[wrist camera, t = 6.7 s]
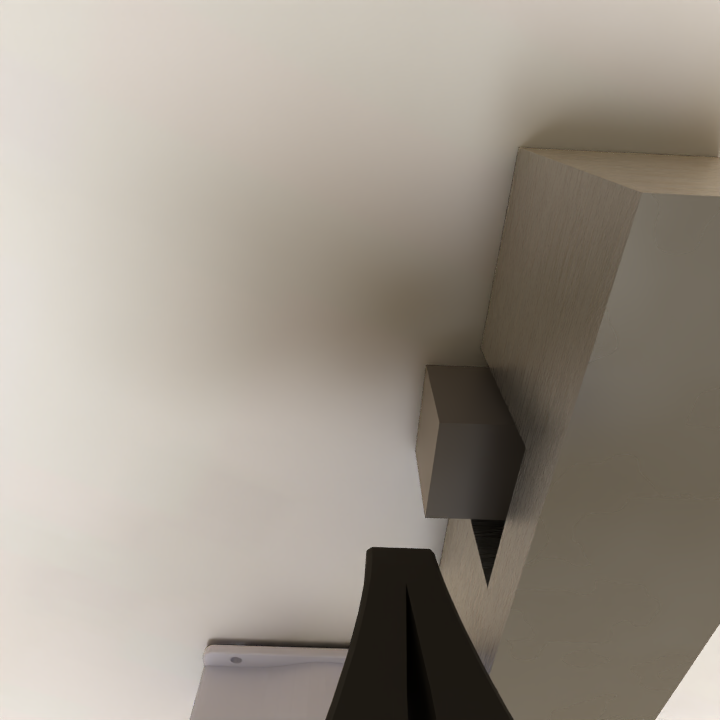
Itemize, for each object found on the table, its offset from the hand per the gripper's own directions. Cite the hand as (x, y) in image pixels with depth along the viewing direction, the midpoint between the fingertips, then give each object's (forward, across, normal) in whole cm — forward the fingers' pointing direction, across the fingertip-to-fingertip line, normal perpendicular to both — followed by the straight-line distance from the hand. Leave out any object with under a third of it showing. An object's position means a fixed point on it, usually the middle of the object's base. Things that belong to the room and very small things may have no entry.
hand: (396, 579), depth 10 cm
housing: (+6, -5, 0) cm, 8 cm away
